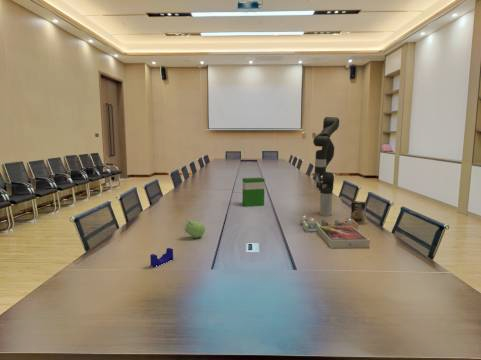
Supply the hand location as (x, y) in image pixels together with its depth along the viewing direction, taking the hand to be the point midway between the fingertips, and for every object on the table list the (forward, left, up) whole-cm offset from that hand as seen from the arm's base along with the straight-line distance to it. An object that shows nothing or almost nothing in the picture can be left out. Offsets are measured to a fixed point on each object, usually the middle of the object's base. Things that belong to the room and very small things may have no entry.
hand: (319, 189), depth 227 cm
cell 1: (-1, -10, -25) cm, 27 cm away
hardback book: (-62, -44, -26) cm, 80 cm away
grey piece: (+11, +6, -25) cm, 28 cm away
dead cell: (+11, +18, -24) cm, 32 cm away
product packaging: (+32, +7, -26) cm, 42 cm away
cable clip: (+69, -92, -26) cm, 118 cm away
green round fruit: (+30, -82, -26) cm, 91 cm away
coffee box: (-2, +28, -26) cm, 38 cm away
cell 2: (+11, -7, -24) cm, 27 cm away
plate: (+11, +6, -23) cm, 27 cm away
